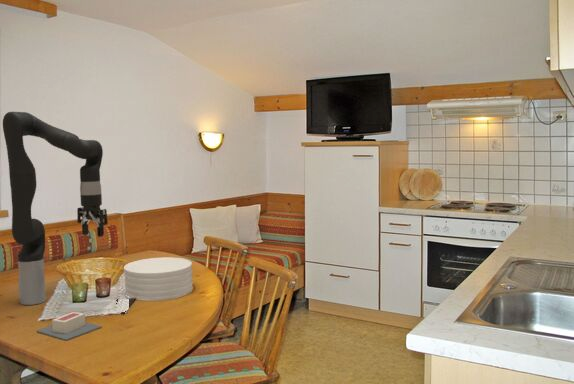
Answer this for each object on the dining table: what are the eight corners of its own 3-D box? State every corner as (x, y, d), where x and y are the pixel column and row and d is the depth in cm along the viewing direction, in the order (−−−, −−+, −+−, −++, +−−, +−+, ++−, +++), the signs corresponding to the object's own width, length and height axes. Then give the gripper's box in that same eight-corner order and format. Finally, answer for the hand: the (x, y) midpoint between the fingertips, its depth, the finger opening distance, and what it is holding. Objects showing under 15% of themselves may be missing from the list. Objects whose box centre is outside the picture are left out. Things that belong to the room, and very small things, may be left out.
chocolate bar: (136, 298, 217) (124, 313, 199) (136, 300, 217) (124, 315, 199) (113, 299, 216) (99, 313, 198) (113, 301, 216) (99, 316, 199)
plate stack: (114, 290, 230) (112, 264, 229) (172, 278, 249) (171, 254, 248) (143, 305, 209) (142, 276, 208) (205, 291, 228) (204, 265, 227)
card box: (73, 323, 189) (72, 311, 188) (85, 325, 186) (84, 313, 186) (52, 331, 180) (52, 319, 180) (65, 333, 178) (64, 322, 178)
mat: (36, 331, 182) (36, 330, 182) (71, 319, 193) (71, 318, 193) (66, 340, 173) (66, 339, 173) (101, 327, 185) (101, 326, 185)
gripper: (111, 193, 202) (113, 235, 204) (86, 191, 210) (88, 232, 211) (95, 195, 196) (97, 238, 198) (70, 193, 203) (72, 235, 205)
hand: (93, 235), depth 205 cm, fingers open, 8 cm apart
